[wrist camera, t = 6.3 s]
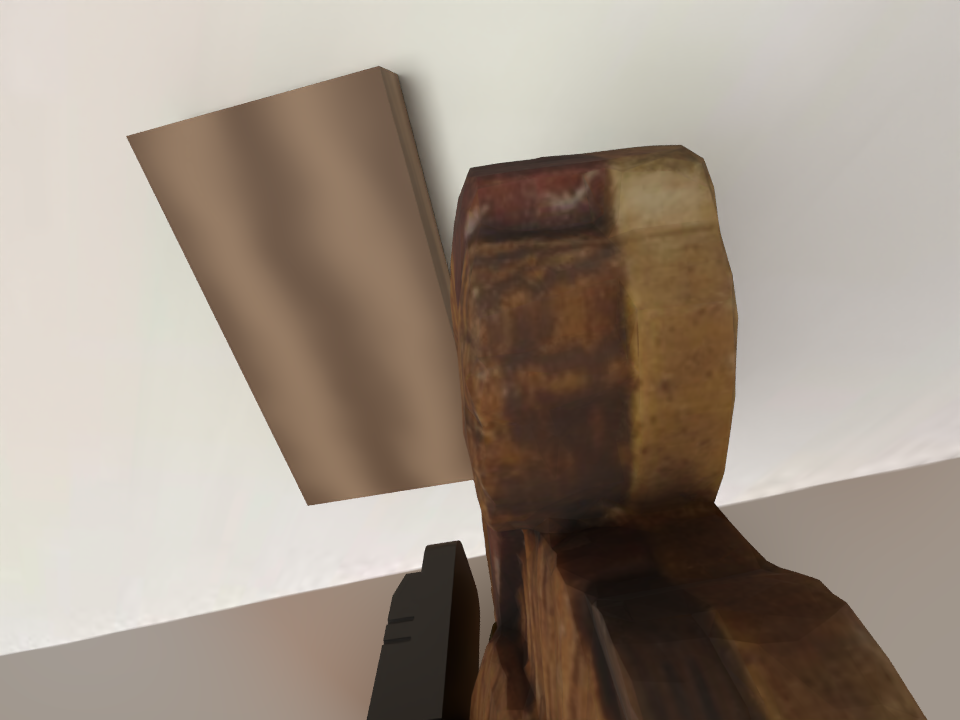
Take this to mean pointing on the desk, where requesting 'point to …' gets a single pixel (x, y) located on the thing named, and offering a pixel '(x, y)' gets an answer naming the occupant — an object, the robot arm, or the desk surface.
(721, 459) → the wooden carving
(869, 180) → the desk surface
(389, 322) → the walnut plinth
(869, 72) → the desk surface
